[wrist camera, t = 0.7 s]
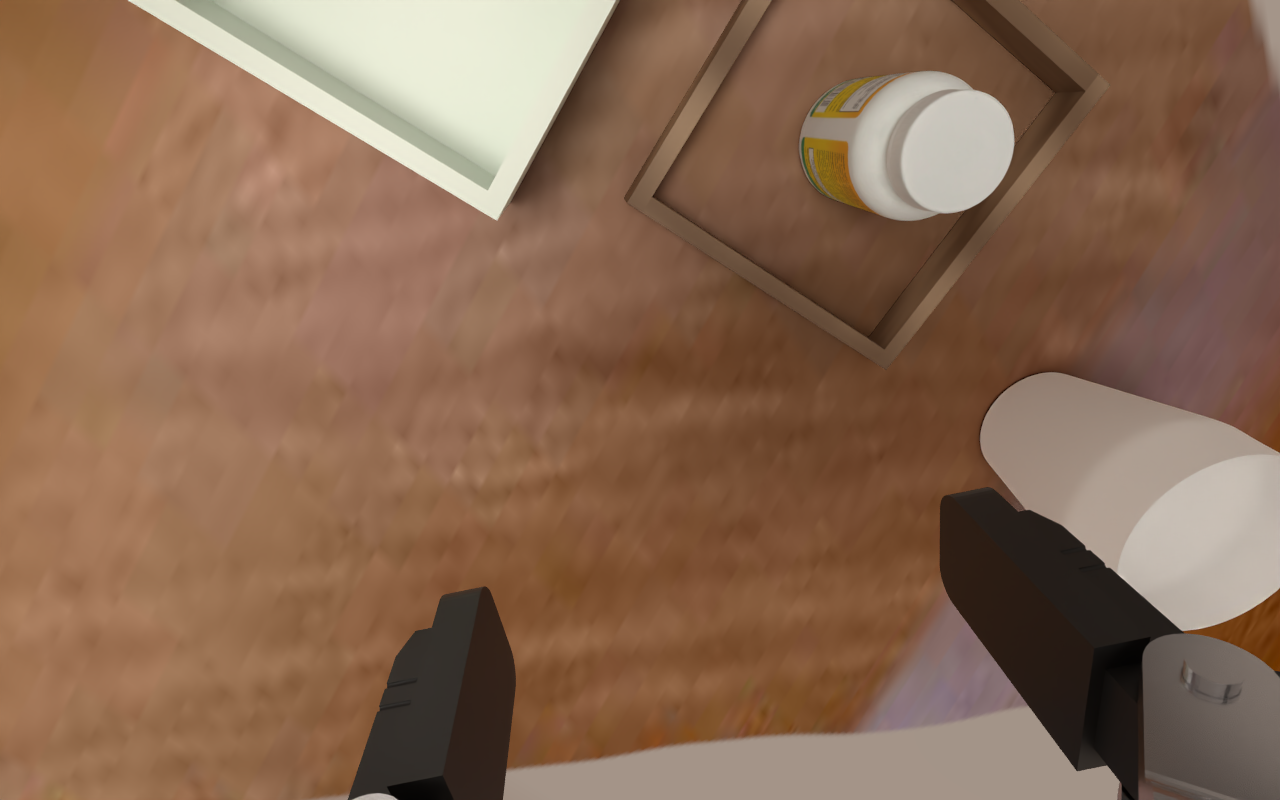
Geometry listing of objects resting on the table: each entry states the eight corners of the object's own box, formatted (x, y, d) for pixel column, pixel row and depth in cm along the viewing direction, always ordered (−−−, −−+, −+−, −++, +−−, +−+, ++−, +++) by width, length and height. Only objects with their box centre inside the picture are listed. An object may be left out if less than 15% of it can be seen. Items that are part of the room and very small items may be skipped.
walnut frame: (826, -142, 27) (845, -161, 25) (1079, 86, 31) (1110, 85, 30) (623, 198, 31) (627, 203, 30) (870, 357, 36) (886, 369, 34)
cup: (1141, 391, 38) (1372, 501, 27) (1039, 513, 41) (1211, 658, 30) (1027, 323, 36) (1228, 414, 25) (927, 458, 39) (1068, 593, 28)
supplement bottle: (820, 63, 30) (923, 41, 21) (925, 98, 31) (1064, 91, 22) (779, 184, 32) (858, 210, 23) (879, 214, 33) (992, 249, 24)
